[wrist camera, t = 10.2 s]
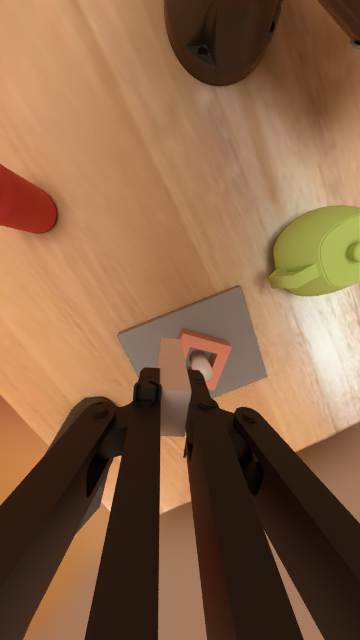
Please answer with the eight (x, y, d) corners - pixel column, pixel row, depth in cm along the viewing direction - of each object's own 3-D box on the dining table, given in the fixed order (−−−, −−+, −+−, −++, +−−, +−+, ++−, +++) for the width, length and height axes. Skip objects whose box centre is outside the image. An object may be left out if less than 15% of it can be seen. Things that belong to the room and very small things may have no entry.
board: (237, 285, 39) (255, 290, 31) (263, 372, 44) (284, 394, 37) (118, 332, 39) (109, 348, 32) (159, 413, 44) (159, 443, 37)
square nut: (181, 328, 38) (183, 333, 35) (226, 340, 40) (231, 346, 37) (156, 401, 42) (156, 411, 39) (199, 410, 43) (202, 420, 41)
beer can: (67, 216, 33) (18, 192, 21) (36, 242, 33) (-28, 232, 22) (35, 177, 31) (-38, 128, 20) (3, 205, 32) (-86, 173, 20)
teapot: (342, 189, 36) (434, 152, 24) (360, 260, 40) (448, 259, 27) (239, 247, 37) (278, 240, 25) (266, 311, 41) (312, 331, 28)
